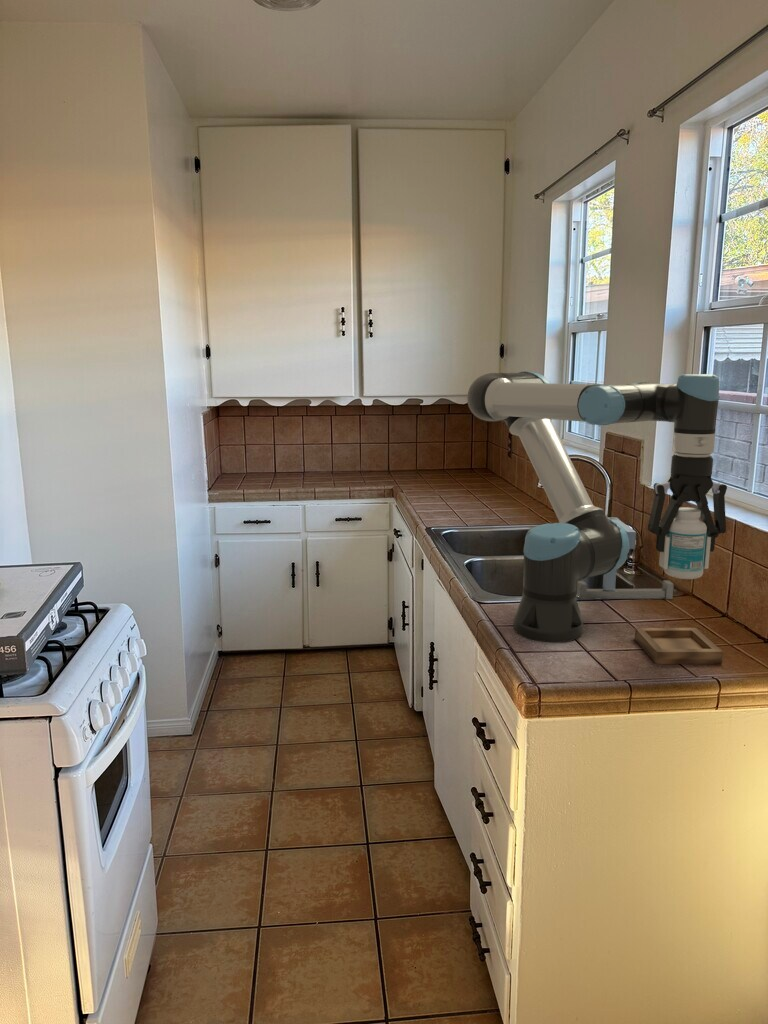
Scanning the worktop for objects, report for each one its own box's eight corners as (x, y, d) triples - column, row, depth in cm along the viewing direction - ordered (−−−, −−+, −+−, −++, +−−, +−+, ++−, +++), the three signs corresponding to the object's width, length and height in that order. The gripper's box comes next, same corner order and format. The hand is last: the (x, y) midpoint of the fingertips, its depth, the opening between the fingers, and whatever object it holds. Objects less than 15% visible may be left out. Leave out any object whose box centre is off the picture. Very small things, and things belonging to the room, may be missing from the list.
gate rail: (579, 599, 183) (580, 584, 183) (576, 595, 186) (577, 580, 185) (672, 599, 183) (673, 584, 182) (667, 595, 186) (669, 580, 185)
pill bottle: (670, 567, 153) (675, 504, 150) (707, 573, 149) (713, 508, 146) (657, 575, 147) (662, 510, 145) (696, 582, 143) (701, 515, 140)
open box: (656, 663, 145) (657, 651, 145) (634, 638, 158) (635, 628, 157) (721, 663, 145) (722, 651, 145) (694, 638, 158) (695, 627, 157)
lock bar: (621, 607, 171) (626, 531, 167) (602, 587, 185) (606, 517, 182) (631, 607, 171) (637, 531, 167) (612, 587, 185) (616, 517, 182)
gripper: (647, 457, 139) (639, 572, 144) (754, 456, 139) (742, 572, 144) (634, 452, 147) (627, 562, 151) (735, 451, 147) (725, 561, 151)
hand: (683, 566), depth 148 cm, fingers closed on pill bottle, 7 cm apart
